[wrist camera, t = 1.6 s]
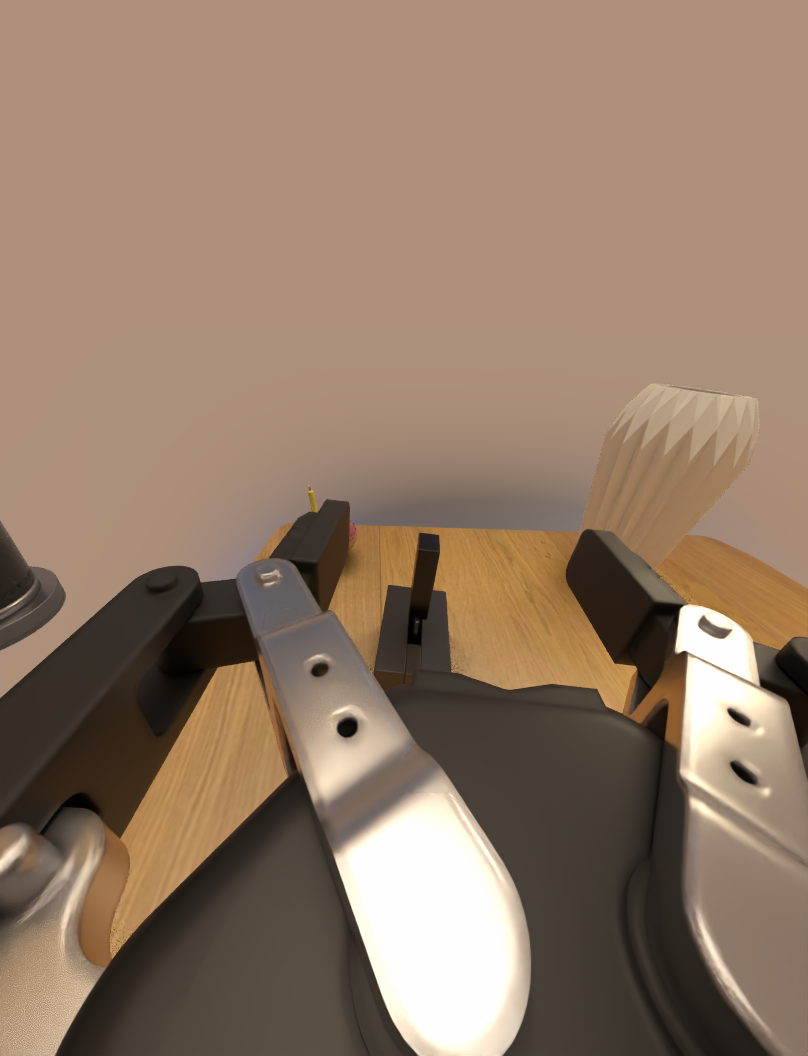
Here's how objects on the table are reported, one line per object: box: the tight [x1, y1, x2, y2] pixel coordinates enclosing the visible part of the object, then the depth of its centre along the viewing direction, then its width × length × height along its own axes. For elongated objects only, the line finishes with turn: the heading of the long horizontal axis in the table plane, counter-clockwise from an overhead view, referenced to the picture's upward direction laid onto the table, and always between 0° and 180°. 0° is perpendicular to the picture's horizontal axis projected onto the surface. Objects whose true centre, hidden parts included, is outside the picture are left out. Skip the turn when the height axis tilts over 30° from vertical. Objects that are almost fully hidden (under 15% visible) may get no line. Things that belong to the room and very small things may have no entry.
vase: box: [575, 384, 759, 570], centre depth 40 cm, size 13×13×26 cm
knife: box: [408, 533, 440, 645], centre depth 28 cm, size 2×3×15 cm, turn 176°
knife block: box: [374, 585, 451, 691], centre depth 30 cm, size 6×10×6 cm, turn 176°
